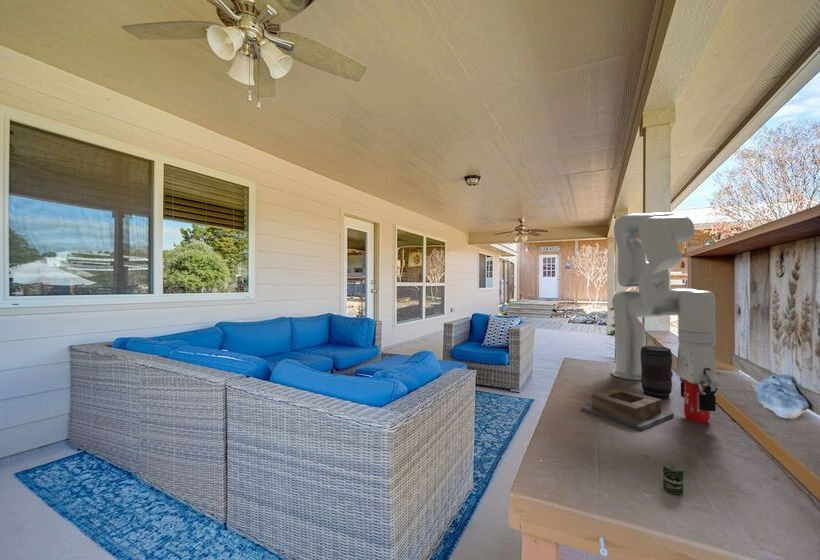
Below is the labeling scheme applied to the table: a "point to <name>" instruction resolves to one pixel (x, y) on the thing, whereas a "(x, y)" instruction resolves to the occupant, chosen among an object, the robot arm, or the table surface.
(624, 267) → the robot arm
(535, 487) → the table surface
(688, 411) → the beverage can
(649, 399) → the can holder
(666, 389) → the camera lens
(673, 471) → the beer can
